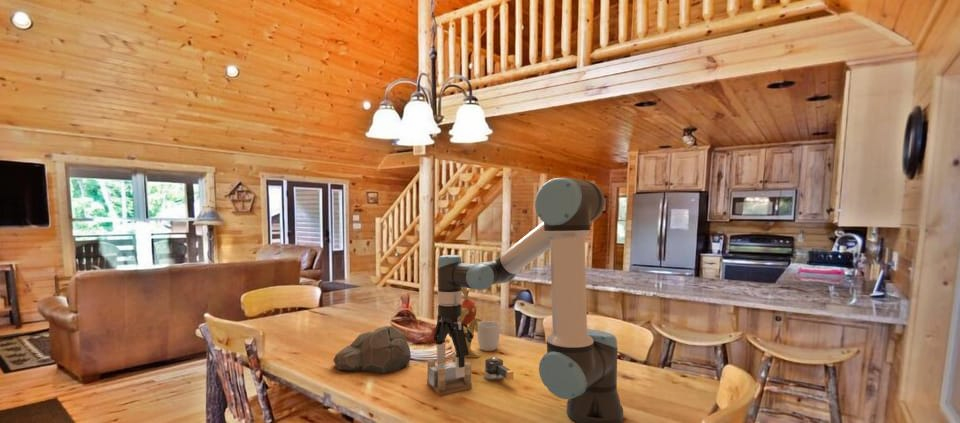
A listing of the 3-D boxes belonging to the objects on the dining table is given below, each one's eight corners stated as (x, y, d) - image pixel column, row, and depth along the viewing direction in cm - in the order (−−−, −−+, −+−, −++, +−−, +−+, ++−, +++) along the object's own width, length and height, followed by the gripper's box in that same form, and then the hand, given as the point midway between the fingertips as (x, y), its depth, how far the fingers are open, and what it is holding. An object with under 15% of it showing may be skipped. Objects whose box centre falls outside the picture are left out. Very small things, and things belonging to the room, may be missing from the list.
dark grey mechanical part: (482, 368, 143) (482, 356, 143) (496, 365, 146) (496, 353, 146) (503, 382, 132) (503, 369, 132) (518, 378, 135) (518, 365, 135)
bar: (468, 379, 136) (468, 364, 135) (434, 387, 130) (434, 371, 130) (462, 375, 139) (462, 360, 139) (428, 382, 133) (429, 366, 133)
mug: (496, 353, 165) (496, 328, 165) (474, 351, 168) (474, 326, 168) (503, 343, 177) (503, 320, 177) (483, 341, 180) (483, 318, 180)
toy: (470, 376, 142) (471, 288, 142) (446, 374, 144) (446, 287, 144) (483, 353, 165) (484, 277, 165) (462, 351, 167) (463, 276, 167)
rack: (472, 388, 133) (472, 364, 133) (439, 396, 127) (439, 371, 127) (457, 376, 142) (457, 354, 141) (426, 383, 136) (426, 360, 136)
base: (507, 378, 141) (507, 372, 141) (491, 382, 137) (491, 376, 137) (496, 371, 146) (496, 366, 146) (481, 375, 143) (481, 369, 143)
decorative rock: (325, 371, 145) (327, 327, 146) (356, 355, 166) (357, 316, 167) (397, 378, 140) (399, 332, 141) (419, 360, 161) (421, 321, 162)
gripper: (479, 309, 125) (480, 380, 125) (443, 296, 147) (443, 356, 146) (457, 312, 121) (457, 386, 121) (423, 298, 143) (424, 360, 143)
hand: (450, 370), depth 134 cm, fingers open, 13 cm apart
